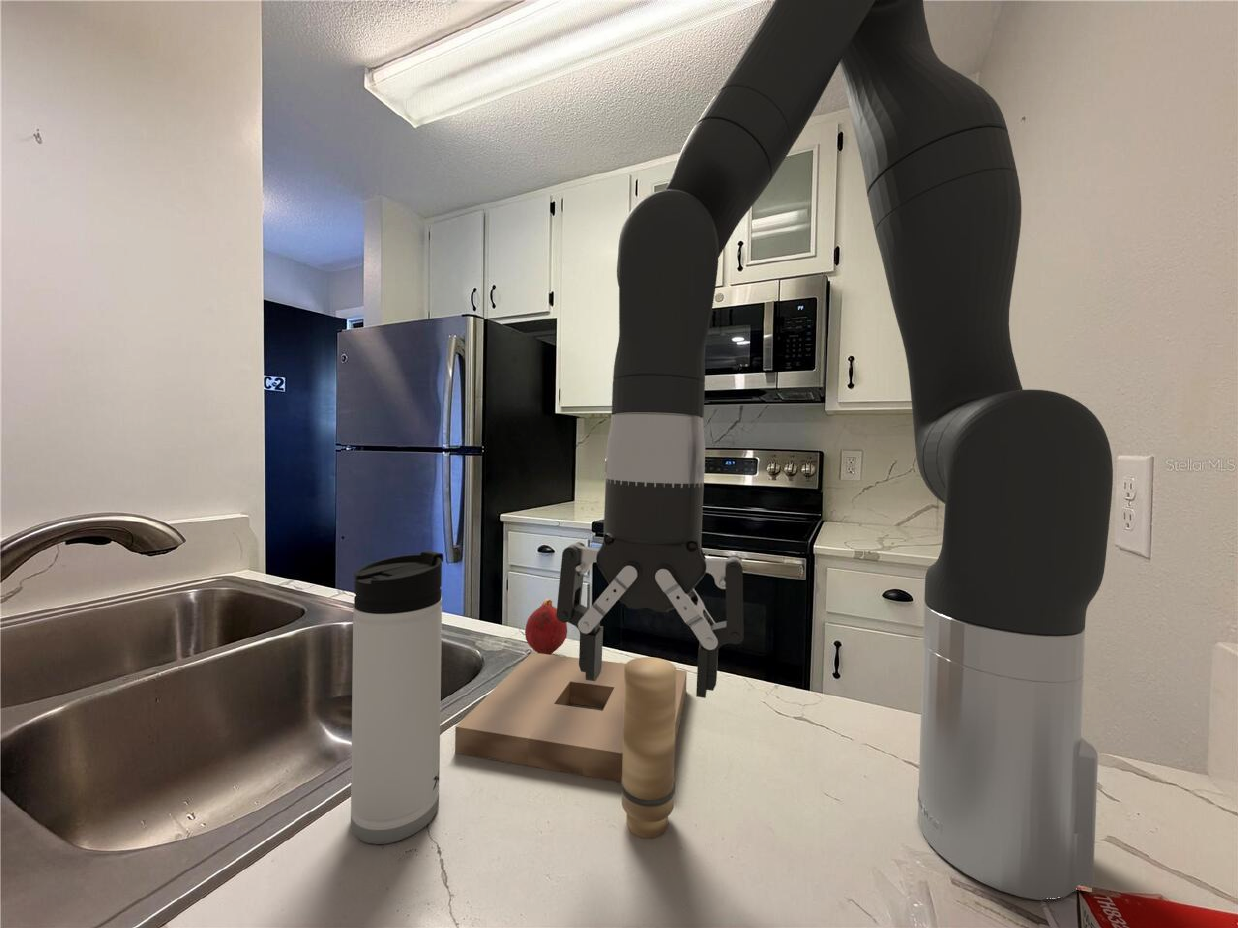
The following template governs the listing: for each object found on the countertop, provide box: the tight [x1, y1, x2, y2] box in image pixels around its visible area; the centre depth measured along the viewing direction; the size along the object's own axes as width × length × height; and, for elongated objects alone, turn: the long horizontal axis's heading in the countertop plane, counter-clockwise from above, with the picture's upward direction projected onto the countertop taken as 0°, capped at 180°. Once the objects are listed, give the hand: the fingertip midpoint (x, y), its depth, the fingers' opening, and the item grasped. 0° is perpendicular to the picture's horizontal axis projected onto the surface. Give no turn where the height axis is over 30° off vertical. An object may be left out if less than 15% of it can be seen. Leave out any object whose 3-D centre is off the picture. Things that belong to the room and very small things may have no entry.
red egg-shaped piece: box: [524, 598, 568, 655], centre depth 68 cm, size 6×6×8 cm
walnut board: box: [454, 652, 688, 783], centre depth 53 cm, size 20×18×2 cm
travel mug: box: [350, 550, 444, 845], centre depth 38 cm, size 6×7×20 cm
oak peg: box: [620, 656, 677, 839], centre depth 38 cm, size 4×4×12 cm
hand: (645, 684), depth 38 cm, fingers open, 8 cm apart
